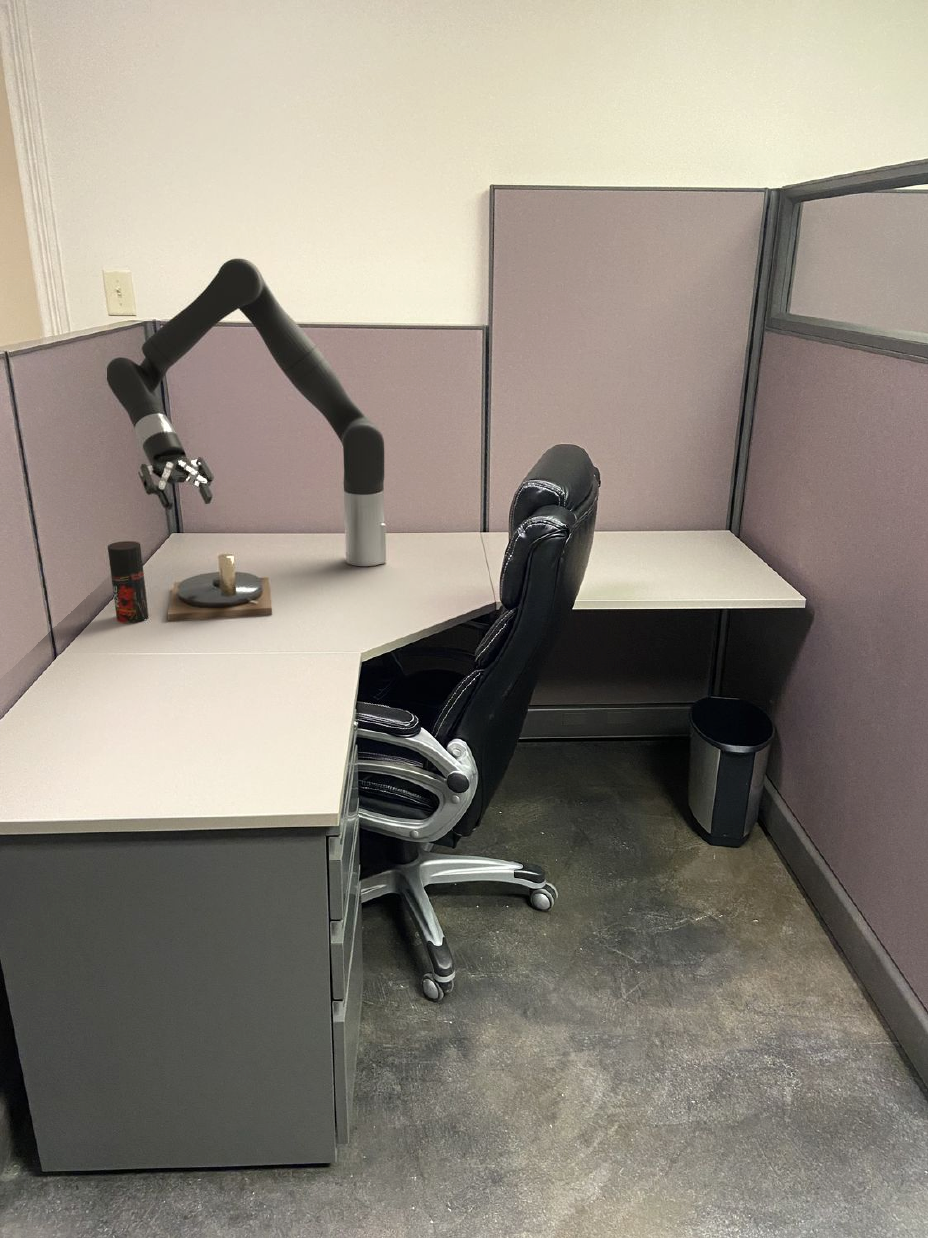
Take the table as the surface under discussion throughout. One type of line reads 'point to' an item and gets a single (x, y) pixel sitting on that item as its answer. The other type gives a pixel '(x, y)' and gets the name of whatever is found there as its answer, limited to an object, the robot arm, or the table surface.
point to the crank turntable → (220, 586)
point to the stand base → (191, 612)
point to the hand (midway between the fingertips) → (190, 504)
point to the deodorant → (128, 582)
